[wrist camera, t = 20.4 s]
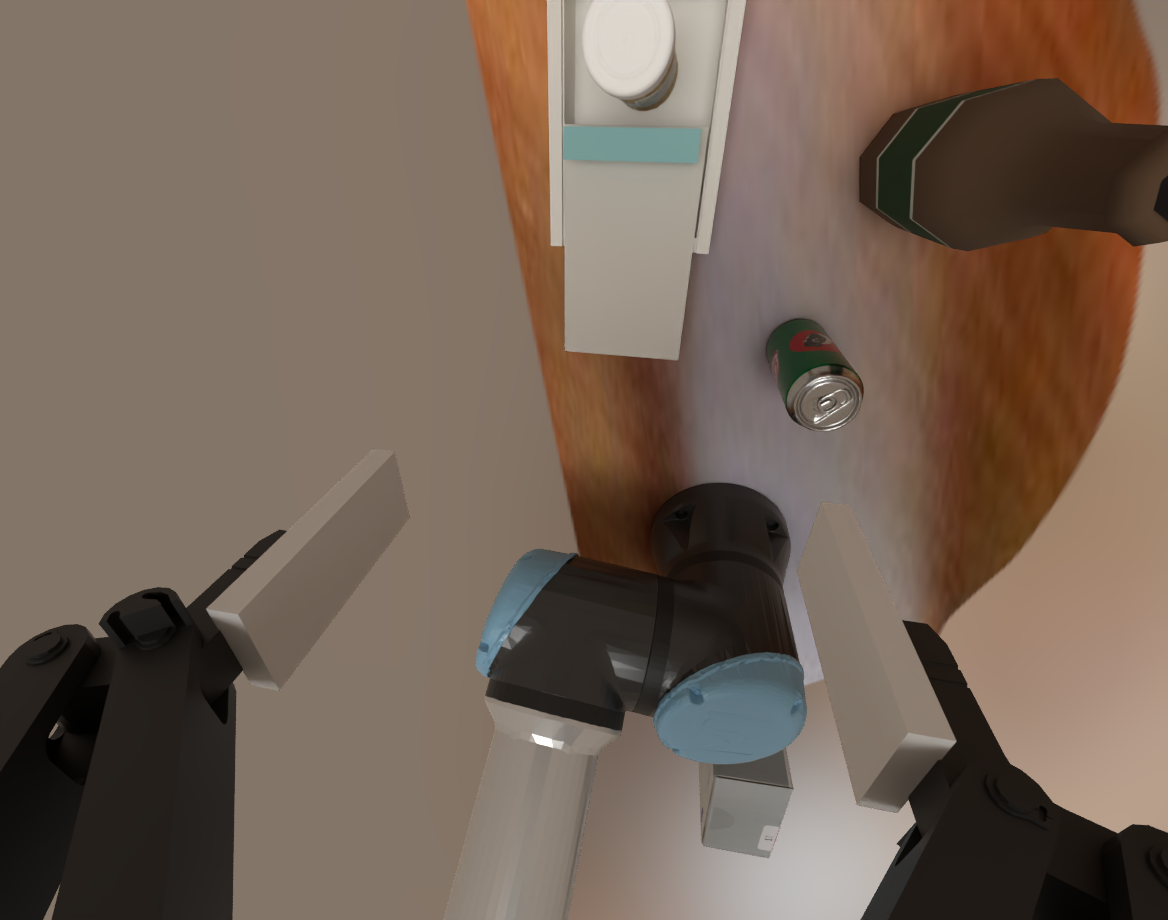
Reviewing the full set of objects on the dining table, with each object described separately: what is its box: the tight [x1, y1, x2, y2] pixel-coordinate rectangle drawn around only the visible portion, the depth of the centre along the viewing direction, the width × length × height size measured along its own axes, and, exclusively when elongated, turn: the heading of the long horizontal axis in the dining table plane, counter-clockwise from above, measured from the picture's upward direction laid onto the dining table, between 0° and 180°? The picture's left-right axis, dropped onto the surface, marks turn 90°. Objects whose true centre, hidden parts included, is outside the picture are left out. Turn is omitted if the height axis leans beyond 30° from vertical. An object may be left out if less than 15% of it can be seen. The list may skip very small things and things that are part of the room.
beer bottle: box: [860, 78, 1168, 251], centre depth 25 cm, size 8×8×24 cm
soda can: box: [766, 319, 864, 432], centre depth 38 cm, size 5×5×12 cm
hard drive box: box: [699, 747, 793, 858], centre depth 59 cm, size 16×8×20 cm, turn 3°
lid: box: [564, 124, 709, 360], centre depth 36 cm, size 16×10×3 cm, turn 179°
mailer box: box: [547, 0, 746, 254], centre depth 35 cm, size 16×12×5 cm
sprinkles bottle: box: [581, 0, 678, 111], centre depth 29 cm, size 5×5×13 cm
